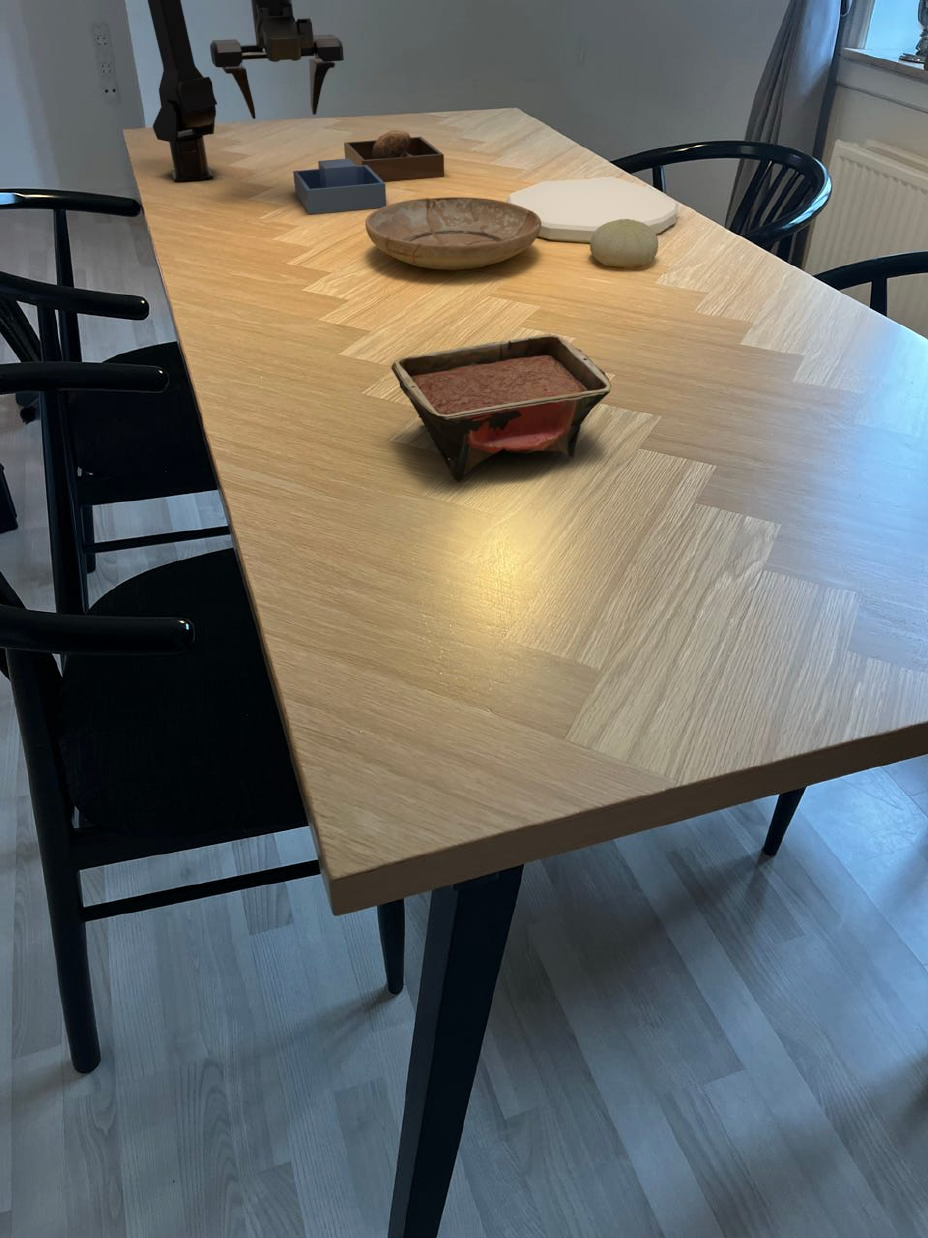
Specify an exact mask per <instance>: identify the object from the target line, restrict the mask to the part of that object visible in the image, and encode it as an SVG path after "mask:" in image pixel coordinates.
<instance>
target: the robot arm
mask: <svg viewBox="0 0 928 1238" xmlns="http://www.w3.org/2000/svg"><path fill="white" fill-rule="evenodd" d="M250 3H251V4H250V5H251V12H252V20H253V27H254V35H255V44H241V43H240V42H239V41H238V39H236V38H234V39H233V38H232V39H230V38H229V39H213V40H212V41H211V43H210V44H209V50H210V57H211V62H212V64H213V65H214V67H215V68H221V69H222V70H223V72H224V73H225V74H226V75H227V74H228V75H229V74H230V75H231V76H232V77H233V79H234V81H235V82H236V84H237V86H238V88H239V90H240V92H241V95H242V97H243V99H244V101H245V104H246V106H247V109H248V112H249V114H250V115H251V119H253V120H255V119H256V109H255V105H254V100H253V96H252V92H251V87H250V82H249V79H248V73H247V68H246V67H245V66H244V64H243V63H244V60H247V61H248V60H262V59H264V60H265V59H267V60H268V61H270V62H274V63H279V62H280V61H289V60H290V61H292V62H297V61H300V60H301V59H302V57H312V58H309V59H308V62H309V63H308V64H309V65H308V66H309V92H310V93H309V95H310V96H309V97H310V107H311V108H310V109H311V113H312V115H314V116H316V115H317V113H318V111H317V110H318V107H319V102H320V97H321V91H322V87H323V83H324V81H325V78H326V75H327V73H328V72H329V70H330V69H335V67H336V63H335V62H341V61H344V60H345V56H344V46H343V41H341V40H340V38H338V37H336V36H335V35H334V34H314V30H313V22H312V20H311V18H297V19H295V17H294V11H293V9H294V8H293V1H292V0H250ZM147 4H148V8H149V12H150V17H151V22H152V26H153V29H154V34H155V39H156V42H157V46H158V51H159V54H160V59H161V63H162V69H163V72H162V75H161V78H160V84H159V86H158V87H159V88H158V93H159V103H160V109H159V110H158V113H157V115H156V117H155V119H154V122H153V124H152V129H153V132H154V135H155V137H156V139H157V140H158V141H162V142H167V143H169V149H170V154H171V160H172V164H173V165H172V166H173V169H171V175H172V177H173V181H174V182H185V181H197V180H199V181H200V180H211V179H214V174H213V172H212V170H211V168H210V167H209V164H208V157H207V151H206V145H205V138H204V136H209V135H210V136H211V135H214V134H215V123H216V117H217V108H216V107H217V105H218V101H217V99H216V97H215V93H214V88H213V81H212V79H211V78H210V76H204V75H203V74H202V73H201V71H200V70H199V69H198V67H197V66H196V64H195V60H194V59H195V58H194V56H193V50H192V46H191V45H192V44H191V41H190V36H189V32H188V28H187V24H186V18H185V14H184V9H183V5H182V0H147Z"/></svg>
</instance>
